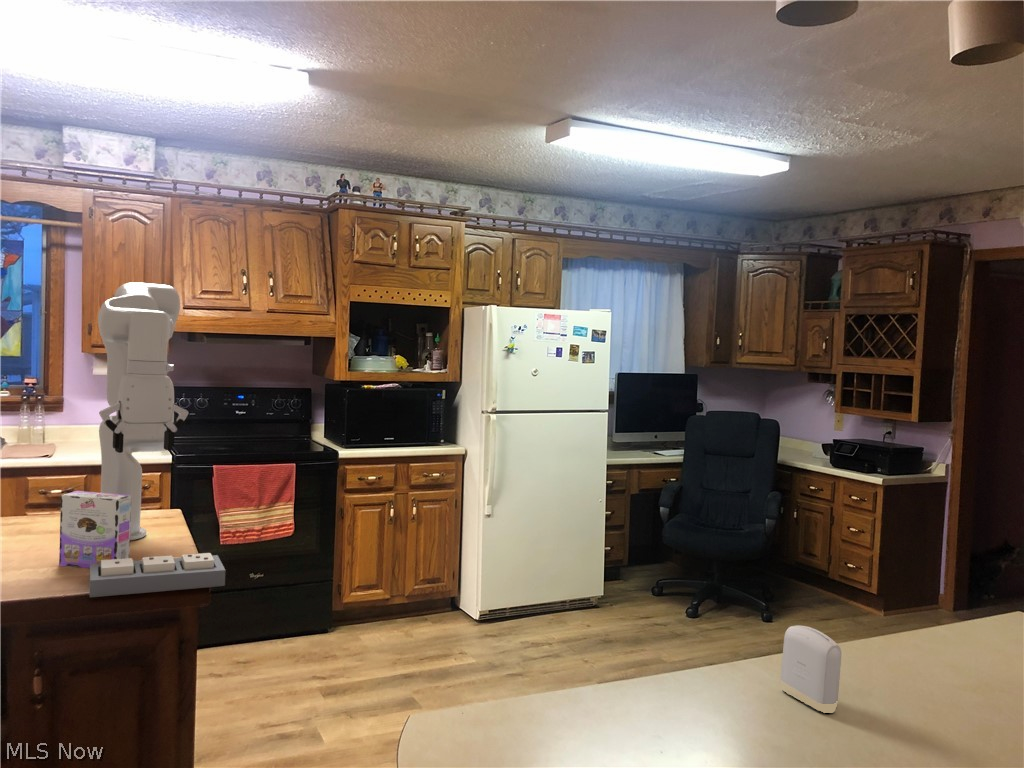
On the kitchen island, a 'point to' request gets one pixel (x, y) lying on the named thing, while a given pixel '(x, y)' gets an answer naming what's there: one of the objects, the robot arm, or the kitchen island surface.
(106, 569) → the tile
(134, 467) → the robot arm
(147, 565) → the tile
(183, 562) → the tile
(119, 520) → the candy box
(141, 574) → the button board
